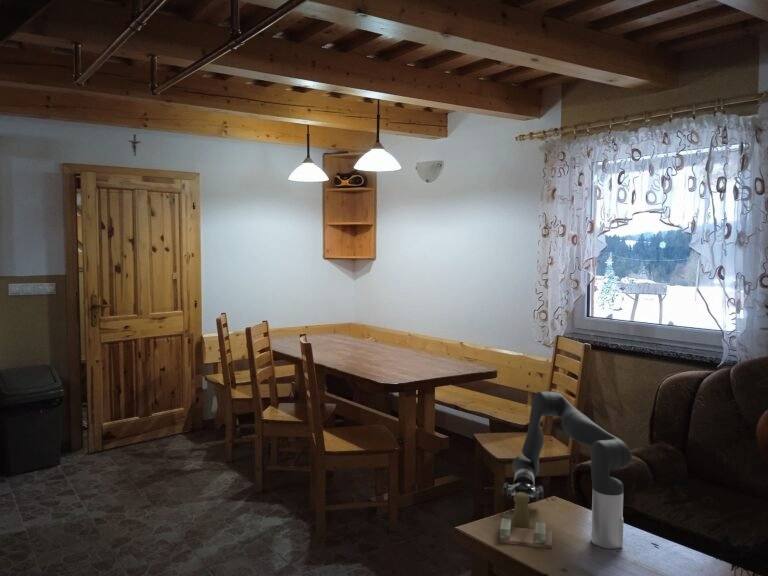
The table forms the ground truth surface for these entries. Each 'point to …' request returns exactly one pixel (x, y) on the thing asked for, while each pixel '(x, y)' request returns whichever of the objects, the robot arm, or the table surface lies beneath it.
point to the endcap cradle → (525, 535)
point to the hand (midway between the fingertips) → (522, 498)
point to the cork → (521, 510)
